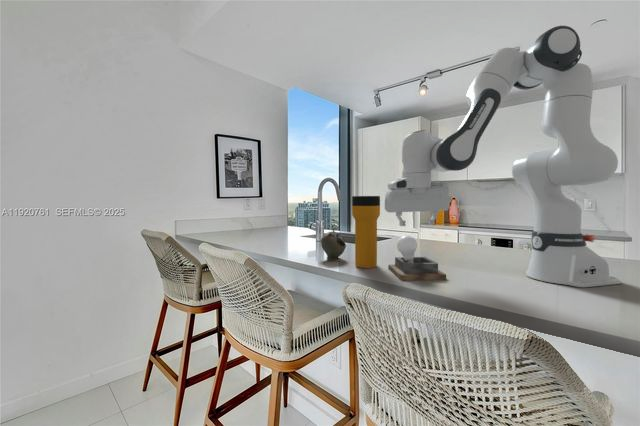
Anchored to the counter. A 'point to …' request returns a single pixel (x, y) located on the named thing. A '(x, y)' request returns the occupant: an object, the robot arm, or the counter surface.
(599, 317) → the counter surface
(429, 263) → the socket base
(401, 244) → the lightbulb
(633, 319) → the counter surface
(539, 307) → the counter surface
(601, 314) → the counter surface
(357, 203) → the flashlight
